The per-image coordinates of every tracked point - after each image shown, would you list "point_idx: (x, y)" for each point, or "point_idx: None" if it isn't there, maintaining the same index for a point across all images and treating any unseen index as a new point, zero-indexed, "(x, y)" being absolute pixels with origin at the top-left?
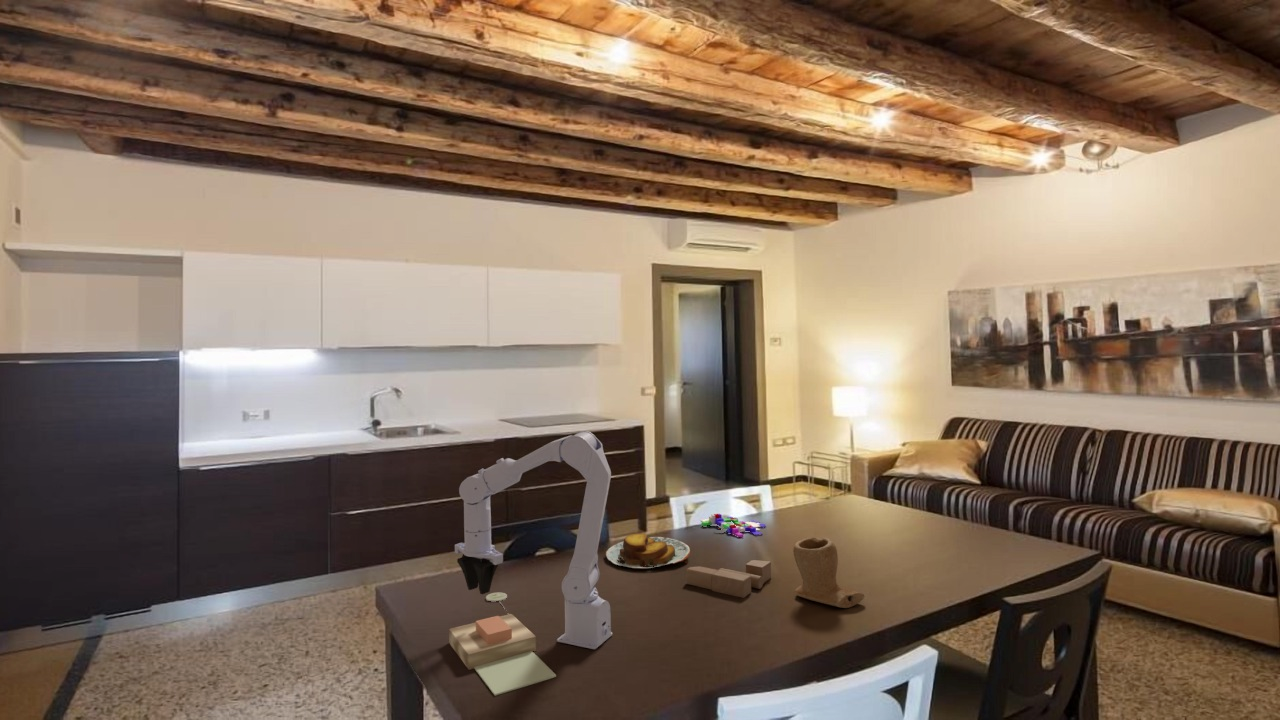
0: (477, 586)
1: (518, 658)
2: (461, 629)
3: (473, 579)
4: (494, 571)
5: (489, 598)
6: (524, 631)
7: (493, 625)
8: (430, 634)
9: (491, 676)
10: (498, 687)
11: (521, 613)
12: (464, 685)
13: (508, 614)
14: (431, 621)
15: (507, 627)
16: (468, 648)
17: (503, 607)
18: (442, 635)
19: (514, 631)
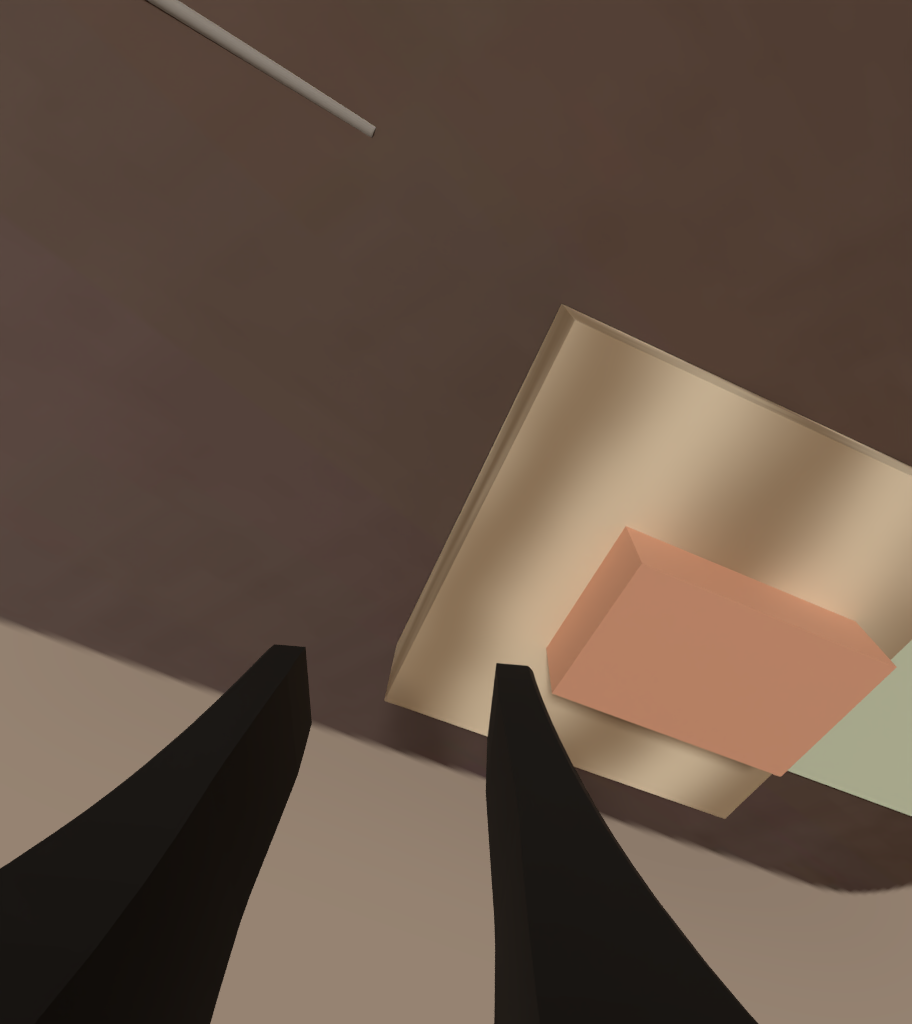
0: (301, 655)
1: None
2: (454, 675)
3: (266, 776)
4: (653, 909)
5: None
6: (894, 513)
7: (726, 685)
8: (221, 626)
9: (852, 762)
10: None
11: (427, 9)
12: (767, 821)
13: (348, 117)
14: (48, 524)
15: (854, 668)
16: (677, 786)
17: (176, 11)
18: (283, 605)
19: (815, 546)
